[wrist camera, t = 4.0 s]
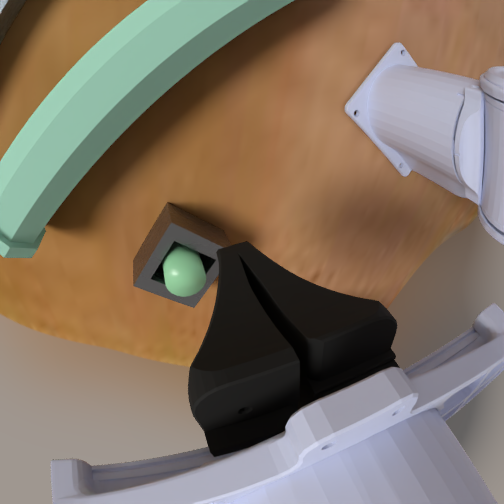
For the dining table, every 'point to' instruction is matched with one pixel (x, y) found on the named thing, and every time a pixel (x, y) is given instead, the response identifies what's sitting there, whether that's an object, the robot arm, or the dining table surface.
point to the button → (183, 270)
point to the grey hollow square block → (186, 233)
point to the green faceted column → (108, 104)
